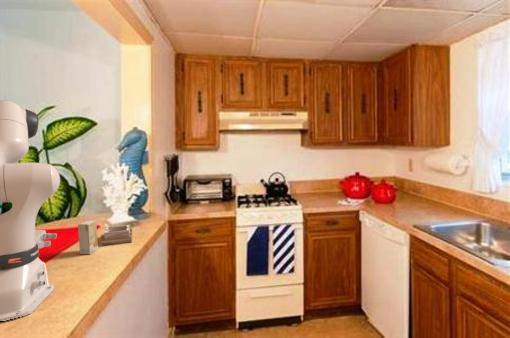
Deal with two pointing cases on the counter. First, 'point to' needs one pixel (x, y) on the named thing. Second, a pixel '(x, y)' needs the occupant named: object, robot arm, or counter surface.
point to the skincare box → (88, 237)
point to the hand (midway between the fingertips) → (53, 239)
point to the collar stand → (117, 235)
